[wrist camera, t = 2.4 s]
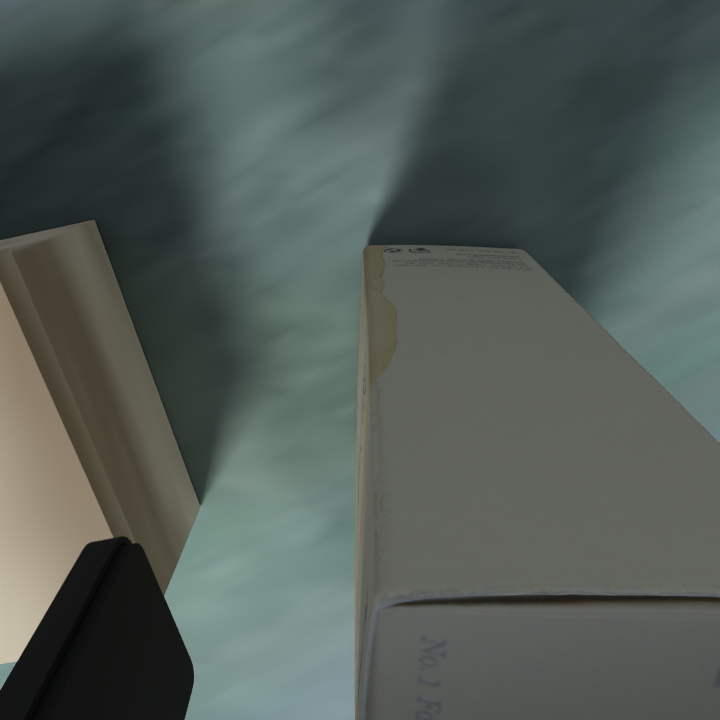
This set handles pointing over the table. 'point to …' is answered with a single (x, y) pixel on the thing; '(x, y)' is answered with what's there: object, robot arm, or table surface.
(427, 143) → the table surface
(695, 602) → the skincare box
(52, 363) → the birch trinket box
